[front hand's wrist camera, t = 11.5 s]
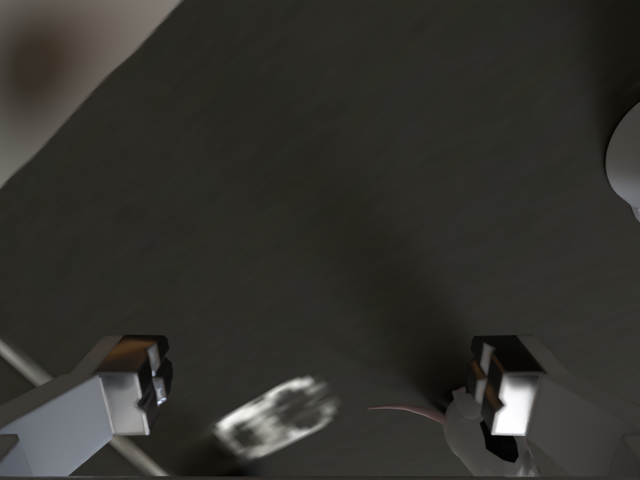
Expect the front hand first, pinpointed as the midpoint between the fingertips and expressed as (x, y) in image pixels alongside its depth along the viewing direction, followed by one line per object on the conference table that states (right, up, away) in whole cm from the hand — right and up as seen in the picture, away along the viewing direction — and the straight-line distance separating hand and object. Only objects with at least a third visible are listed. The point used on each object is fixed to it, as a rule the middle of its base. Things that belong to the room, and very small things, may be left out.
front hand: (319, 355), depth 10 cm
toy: (+19, -22, +51) cm, 58 cm away
